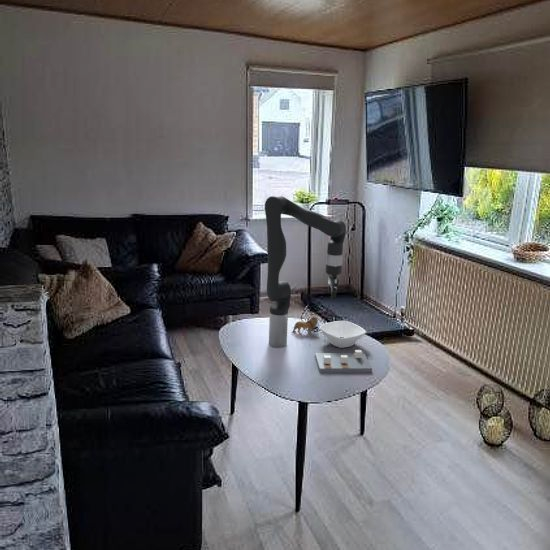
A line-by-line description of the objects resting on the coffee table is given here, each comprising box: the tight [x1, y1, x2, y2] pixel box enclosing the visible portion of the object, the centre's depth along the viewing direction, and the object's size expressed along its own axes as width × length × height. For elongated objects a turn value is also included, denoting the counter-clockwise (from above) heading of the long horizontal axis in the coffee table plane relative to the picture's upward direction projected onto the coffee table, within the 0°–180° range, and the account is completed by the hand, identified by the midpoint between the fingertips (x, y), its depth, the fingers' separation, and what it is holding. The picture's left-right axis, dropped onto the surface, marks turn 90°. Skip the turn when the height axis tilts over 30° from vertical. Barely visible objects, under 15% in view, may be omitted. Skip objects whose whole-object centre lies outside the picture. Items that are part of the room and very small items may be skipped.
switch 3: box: [354, 349, 363, 358], centre depth 236 cm, size 2×3×3 cm
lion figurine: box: [291, 316, 319, 335], centre depth 267 cm, size 15×5×9 cm, turn 108°
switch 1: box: [323, 355, 331, 364], centre depth 229 cm, size 2×3×3 cm
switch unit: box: [314, 352, 373, 373], centre depth 233 cm, size 16×24×2 cm, turn 94°
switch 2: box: [340, 355, 348, 363], centre depth 230 cm, size 2×3×3 cm
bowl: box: [319, 320, 367, 349], centre depth 254 cm, size 21×21×9 cm
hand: (331, 296), depth 235 cm, fingers open, 8 cm apart
